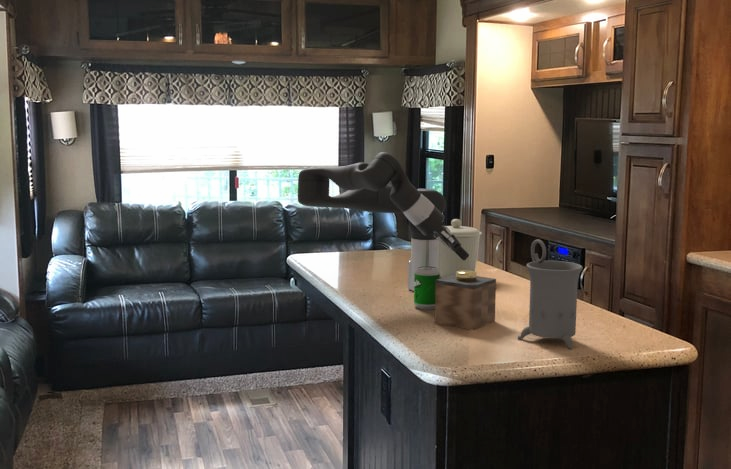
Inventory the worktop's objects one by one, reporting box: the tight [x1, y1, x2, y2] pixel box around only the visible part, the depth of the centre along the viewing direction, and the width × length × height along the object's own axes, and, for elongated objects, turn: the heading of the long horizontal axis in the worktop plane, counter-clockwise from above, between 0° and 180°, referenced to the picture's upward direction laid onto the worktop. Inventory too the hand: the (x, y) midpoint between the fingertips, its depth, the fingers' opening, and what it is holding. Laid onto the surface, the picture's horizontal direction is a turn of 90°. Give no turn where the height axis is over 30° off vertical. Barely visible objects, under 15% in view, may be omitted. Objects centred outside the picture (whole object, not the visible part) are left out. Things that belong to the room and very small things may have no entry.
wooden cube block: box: [434, 274, 497, 331], centre depth 216 cm, size 12×12×12 cm
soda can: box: [413, 266, 441, 311], centre depth 233 cm, size 8×8×12 cm
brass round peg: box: [456, 270, 478, 281], centre depth 216 cm, size 6×6×12 cm
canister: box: [439, 218, 483, 279], centre depth 277 cm, size 18×18×21 cm
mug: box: [517, 238, 584, 350], centre depth 198 cm, size 19×15×25 cm
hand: (466, 257), depth 214 cm, fingers closed
